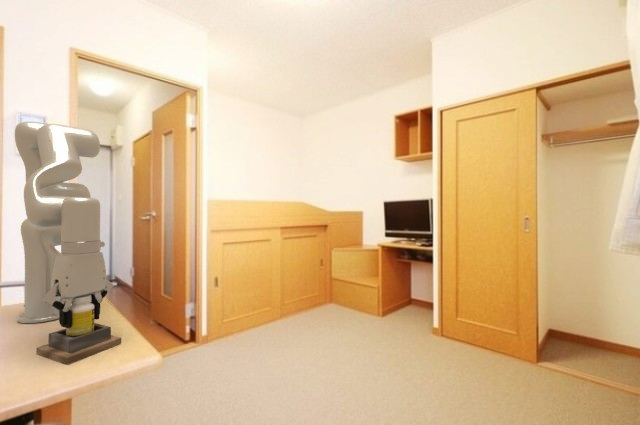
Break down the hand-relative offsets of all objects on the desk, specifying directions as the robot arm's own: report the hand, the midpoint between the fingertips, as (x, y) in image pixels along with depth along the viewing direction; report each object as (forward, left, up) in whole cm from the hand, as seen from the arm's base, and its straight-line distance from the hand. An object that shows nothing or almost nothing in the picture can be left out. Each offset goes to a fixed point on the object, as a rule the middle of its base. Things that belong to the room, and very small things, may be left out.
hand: (80, 321), depth 76 cm
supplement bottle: (0, 0, -4) cm, 4 cm away
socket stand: (0, 0, -6) cm, 6 cm away
